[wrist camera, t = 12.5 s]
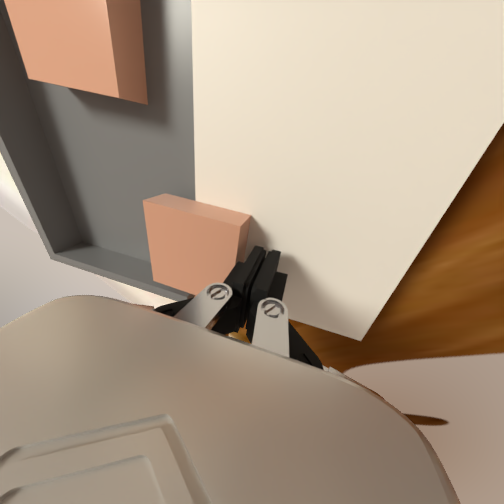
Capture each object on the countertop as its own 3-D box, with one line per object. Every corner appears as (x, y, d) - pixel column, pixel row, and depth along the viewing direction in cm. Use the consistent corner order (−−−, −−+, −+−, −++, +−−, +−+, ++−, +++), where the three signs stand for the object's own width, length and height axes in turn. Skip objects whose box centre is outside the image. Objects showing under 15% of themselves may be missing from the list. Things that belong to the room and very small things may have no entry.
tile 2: (165, 193, 13) (142, 200, 11) (251, 215, 12) (240, 226, 10) (170, 266, 16) (153, 280, 14) (239, 288, 15) (229, 307, 13)
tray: (-13, -88, 11) (-164, -195, 7) (220, -112, 8) (152, -293, 5) (93, 241, 21) (51, 259, 18) (211, 275, 19) (187, 304, 15)
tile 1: (29, -70, 9) (-33, -117, 8) (135, -64, 9) (90, -116, 7) (67, 87, 13) (28, 78, 11) (147, 105, 12) (119, 97, 10)
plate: (220, -100, 8) (187, -183, 6) (610, -135, 6) (772, -290, 4) (211, 273, 18) (197, 289, 16) (355, 315, 16) (360, 341, 14)
